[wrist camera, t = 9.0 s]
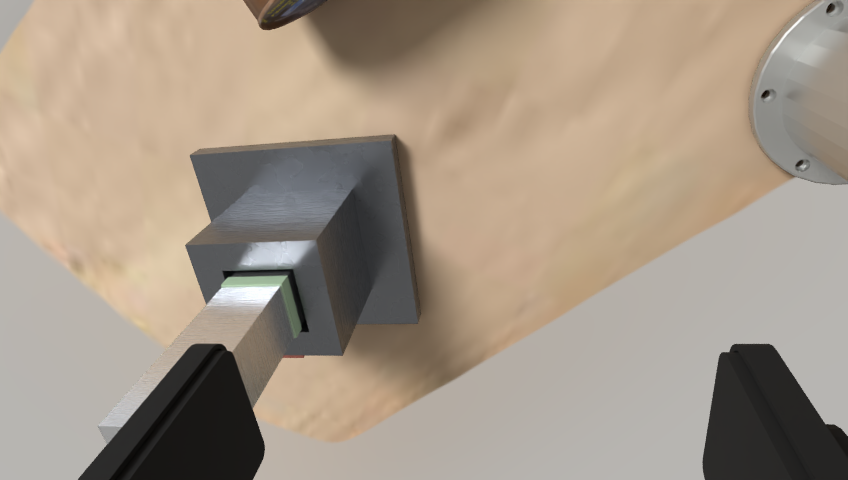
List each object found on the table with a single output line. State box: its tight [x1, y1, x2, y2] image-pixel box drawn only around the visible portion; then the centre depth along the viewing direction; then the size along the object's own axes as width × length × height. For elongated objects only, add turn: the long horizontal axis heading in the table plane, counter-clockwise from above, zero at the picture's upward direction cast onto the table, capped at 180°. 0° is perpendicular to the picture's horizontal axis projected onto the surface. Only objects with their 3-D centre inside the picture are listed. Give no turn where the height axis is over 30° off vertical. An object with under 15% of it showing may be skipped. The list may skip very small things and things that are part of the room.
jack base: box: [185, 135, 421, 358], centre depth 41 cm, size 16×16×10 cm
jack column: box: [98, 269, 306, 444], centre depth 32 cm, size 4×4×16 cm
